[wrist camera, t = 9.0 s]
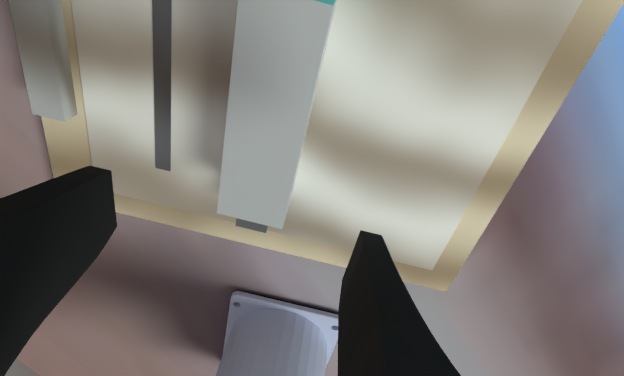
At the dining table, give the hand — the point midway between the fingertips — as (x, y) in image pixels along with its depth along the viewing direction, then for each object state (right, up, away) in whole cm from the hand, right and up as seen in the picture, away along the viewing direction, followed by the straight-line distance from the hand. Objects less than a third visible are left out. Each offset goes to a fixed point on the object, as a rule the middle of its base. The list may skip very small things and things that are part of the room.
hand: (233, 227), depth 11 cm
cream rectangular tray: (+1, +5, +8) cm, 9 cm away
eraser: (+1, +5, +7) cm, 9 cm away
